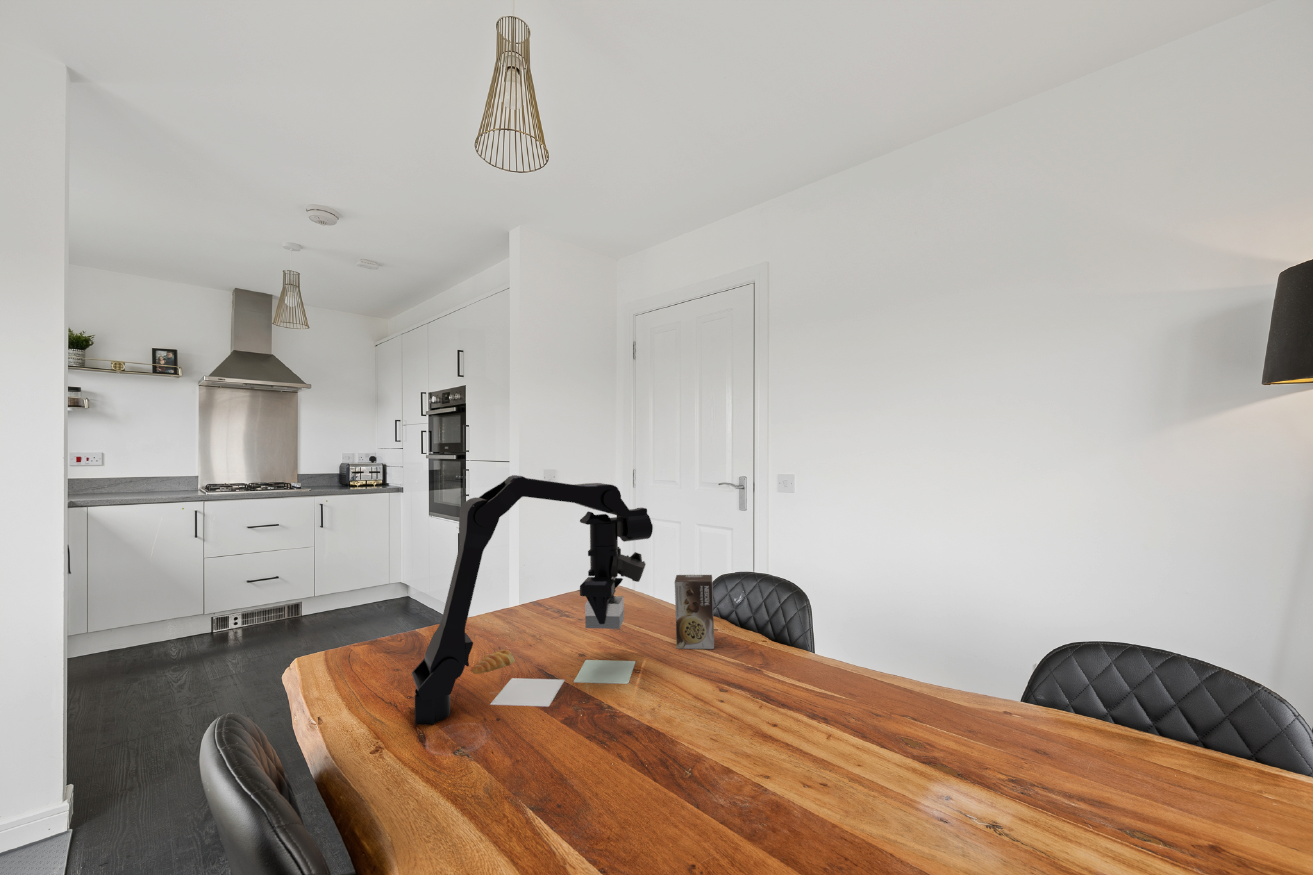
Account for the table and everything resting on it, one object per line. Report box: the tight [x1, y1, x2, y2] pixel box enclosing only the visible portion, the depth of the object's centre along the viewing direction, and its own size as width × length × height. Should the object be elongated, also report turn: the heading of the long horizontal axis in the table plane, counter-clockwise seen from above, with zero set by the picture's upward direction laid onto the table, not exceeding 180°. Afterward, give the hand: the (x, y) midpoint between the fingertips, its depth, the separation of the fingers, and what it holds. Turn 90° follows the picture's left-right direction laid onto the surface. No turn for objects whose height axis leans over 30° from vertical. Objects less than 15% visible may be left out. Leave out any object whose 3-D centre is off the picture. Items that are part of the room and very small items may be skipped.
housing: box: [584, 595, 625, 630], centre depth 113 cm, size 6×7×5 cm
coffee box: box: [674, 574, 715, 650], centre depth 131 cm, size 9×6×16 cm
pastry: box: [470, 648, 515, 675], centre depth 117 cm, size 9×7×4 cm
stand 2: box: [573, 659, 636, 685], centre depth 113 cm, size 11×11×2 cm
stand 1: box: [489, 677, 565, 708], centre depth 104 cm, size 11×11×2 cm
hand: (604, 619), depth 113 cm, fingers closed on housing, 5 cm apart
